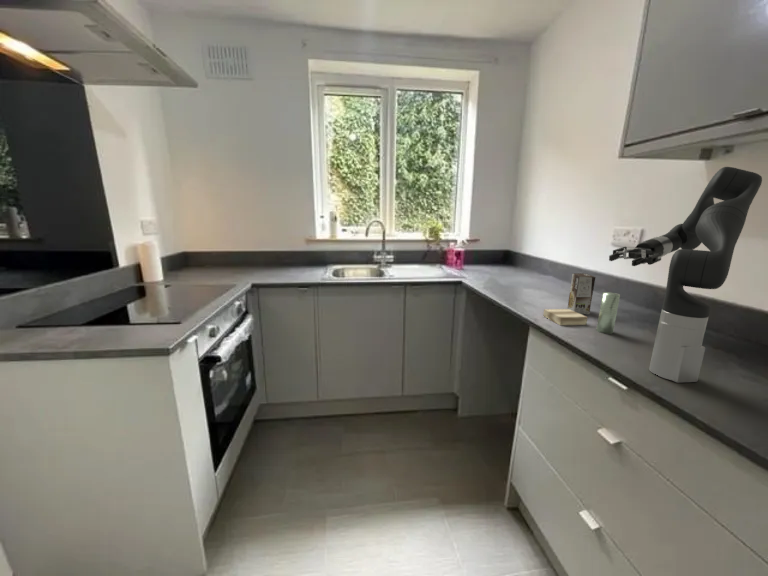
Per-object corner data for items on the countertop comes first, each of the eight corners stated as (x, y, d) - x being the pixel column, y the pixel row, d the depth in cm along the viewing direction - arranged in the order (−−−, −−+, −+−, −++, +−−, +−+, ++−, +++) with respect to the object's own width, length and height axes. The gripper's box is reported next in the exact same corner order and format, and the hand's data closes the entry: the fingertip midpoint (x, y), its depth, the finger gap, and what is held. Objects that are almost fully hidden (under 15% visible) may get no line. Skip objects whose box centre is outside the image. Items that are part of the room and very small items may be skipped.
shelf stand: (586, 324, 133) (587, 317, 132) (559, 325, 131) (561, 317, 131) (567, 315, 144) (568, 308, 143) (543, 316, 142) (544, 309, 141)
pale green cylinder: (616, 333, 124) (623, 295, 121) (603, 334, 123) (610, 295, 120) (605, 328, 129) (612, 292, 126) (592, 329, 128) (599, 292, 125)
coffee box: (589, 314, 146) (596, 277, 143) (573, 313, 147) (579, 276, 144) (582, 309, 155) (588, 273, 151) (566, 307, 156) (572, 272, 153)
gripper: (635, 236, 133) (603, 247, 129) (676, 241, 120) (641, 254, 116) (634, 254, 136) (602, 266, 132) (673, 262, 123) (640, 275, 119)
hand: (621, 260), depth 124 cm, fingers open, 8 cm apart
